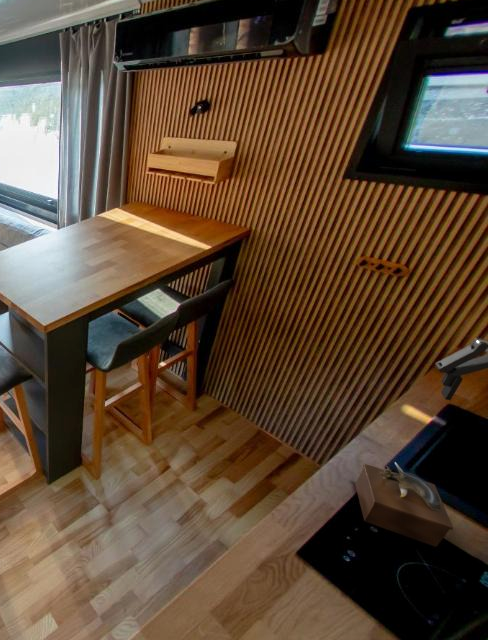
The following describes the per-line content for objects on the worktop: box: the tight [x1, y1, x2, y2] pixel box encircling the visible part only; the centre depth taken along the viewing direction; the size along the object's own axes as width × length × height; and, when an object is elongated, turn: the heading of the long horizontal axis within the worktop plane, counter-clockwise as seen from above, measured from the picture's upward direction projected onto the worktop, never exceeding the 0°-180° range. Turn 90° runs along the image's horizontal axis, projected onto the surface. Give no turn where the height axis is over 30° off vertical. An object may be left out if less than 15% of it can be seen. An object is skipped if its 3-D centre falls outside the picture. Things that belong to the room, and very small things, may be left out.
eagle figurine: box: [380, 461, 441, 511], centre depth 83 cm, size 8×7×9 cm
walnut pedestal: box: [355, 463, 454, 548], centre depth 86 cm, size 11×11×8 cm
